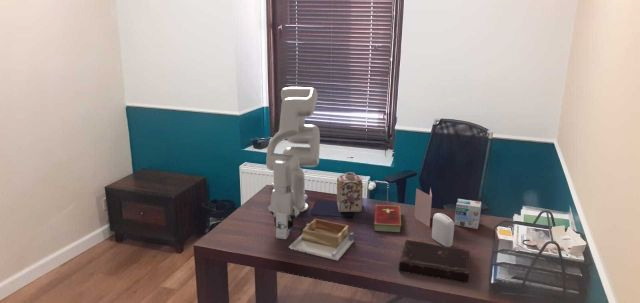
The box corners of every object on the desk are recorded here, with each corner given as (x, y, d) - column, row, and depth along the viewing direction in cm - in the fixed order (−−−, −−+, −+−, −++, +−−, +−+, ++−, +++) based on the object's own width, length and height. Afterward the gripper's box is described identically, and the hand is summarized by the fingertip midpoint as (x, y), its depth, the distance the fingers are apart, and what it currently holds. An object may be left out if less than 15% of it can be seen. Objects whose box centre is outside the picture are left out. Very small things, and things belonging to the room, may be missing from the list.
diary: (467, 285, 163) (469, 273, 161) (398, 273, 170) (399, 262, 169) (468, 258, 180) (469, 247, 178) (405, 249, 187) (405, 238, 186)
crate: (315, 228, 201) (315, 218, 200) (348, 236, 195) (348, 225, 193) (302, 240, 191) (302, 229, 190) (337, 248, 185) (337, 237, 183)
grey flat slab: (307, 231, 202) (307, 223, 200) (353, 241, 192) (353, 233, 191) (288, 248, 187) (288, 239, 186) (337, 260, 178) (337, 251, 177)
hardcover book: (373, 231, 202) (374, 223, 201) (374, 212, 222) (375, 204, 221) (400, 233, 201) (401, 224, 199) (399, 213, 220) (400, 205, 219)
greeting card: (431, 227, 205) (433, 196, 201) (414, 226, 206) (416, 195, 202) (430, 216, 216) (432, 187, 211) (414, 215, 217) (416, 186, 213)
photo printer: (430, 237, 196) (432, 211, 192) (437, 235, 198) (440, 209, 194) (446, 248, 187) (448, 221, 183) (454, 246, 189) (456, 219, 185)
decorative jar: (359, 202, 232) (360, 169, 227) (362, 212, 221) (363, 177, 216) (336, 202, 232) (336, 169, 226) (338, 212, 220) (338, 178, 215)
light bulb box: (453, 225, 207) (455, 203, 204) (455, 219, 213) (457, 198, 210) (478, 229, 203) (480, 207, 200) (479, 223, 209) (481, 201, 206)
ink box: (281, 229, 203) (280, 205, 200) (292, 230, 202) (291, 206, 199) (275, 238, 195) (274, 213, 192) (287, 239, 194) (286, 214, 191)
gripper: (260, 187, 193) (262, 226, 198) (296, 194, 185) (297, 233, 191) (270, 181, 199) (271, 219, 204) (304, 188, 192) (305, 226, 197)
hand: (283, 225), depth 198 cm, fingers closed on ink box, 5 cm apart
